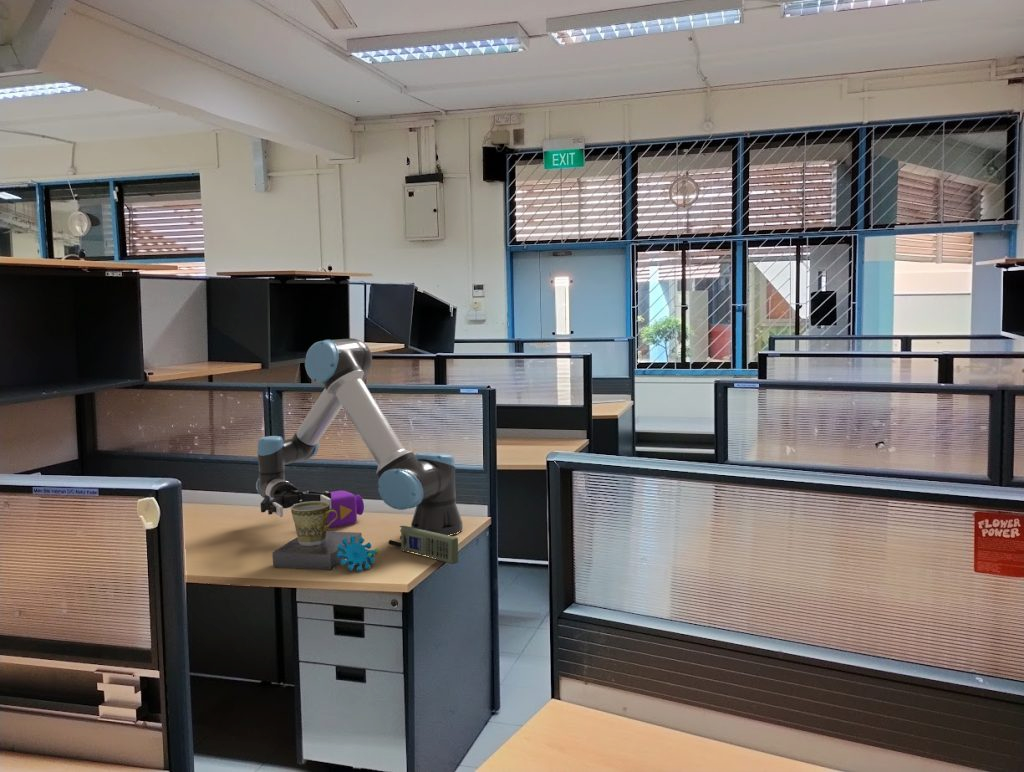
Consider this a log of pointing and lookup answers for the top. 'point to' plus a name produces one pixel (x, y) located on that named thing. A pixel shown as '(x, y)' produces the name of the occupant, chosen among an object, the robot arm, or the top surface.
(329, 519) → the toy camera
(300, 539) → the ceramic cup
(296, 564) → the stand
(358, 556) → the gear
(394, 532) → the top surface
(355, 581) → the top surface
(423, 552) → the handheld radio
